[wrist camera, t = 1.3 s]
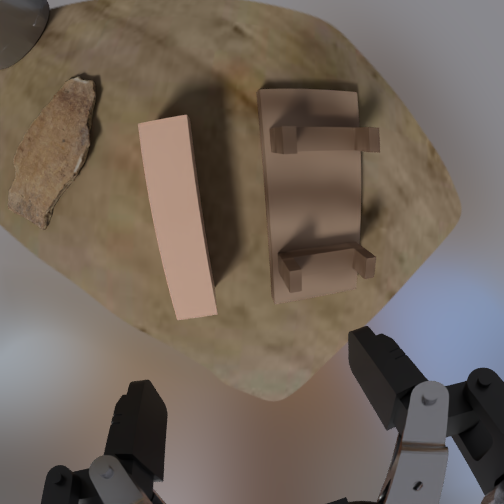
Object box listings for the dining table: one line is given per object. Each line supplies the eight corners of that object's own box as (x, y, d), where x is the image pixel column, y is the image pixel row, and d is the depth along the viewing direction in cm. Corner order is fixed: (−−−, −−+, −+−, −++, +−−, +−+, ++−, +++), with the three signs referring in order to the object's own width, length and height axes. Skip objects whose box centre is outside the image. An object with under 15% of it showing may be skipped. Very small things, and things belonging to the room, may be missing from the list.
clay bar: (180, 291, 28) (177, 320, 23) (151, 127, 22) (138, 123, 17) (214, 286, 28) (217, 314, 24) (190, 120, 22) (186, 114, 18)
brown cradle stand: (349, 282, 31) (373, 308, 25) (271, 296, 29) (285, 327, 24) (349, 94, 23) (380, 86, 18) (256, 92, 22) (270, 79, 17)
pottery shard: (60, 73, 19) (9, 208, 21) (50, 66, 16) (-4, 212, 19) (124, 95, 21) (65, 238, 24) (117, 88, 19) (55, 245, 22)
